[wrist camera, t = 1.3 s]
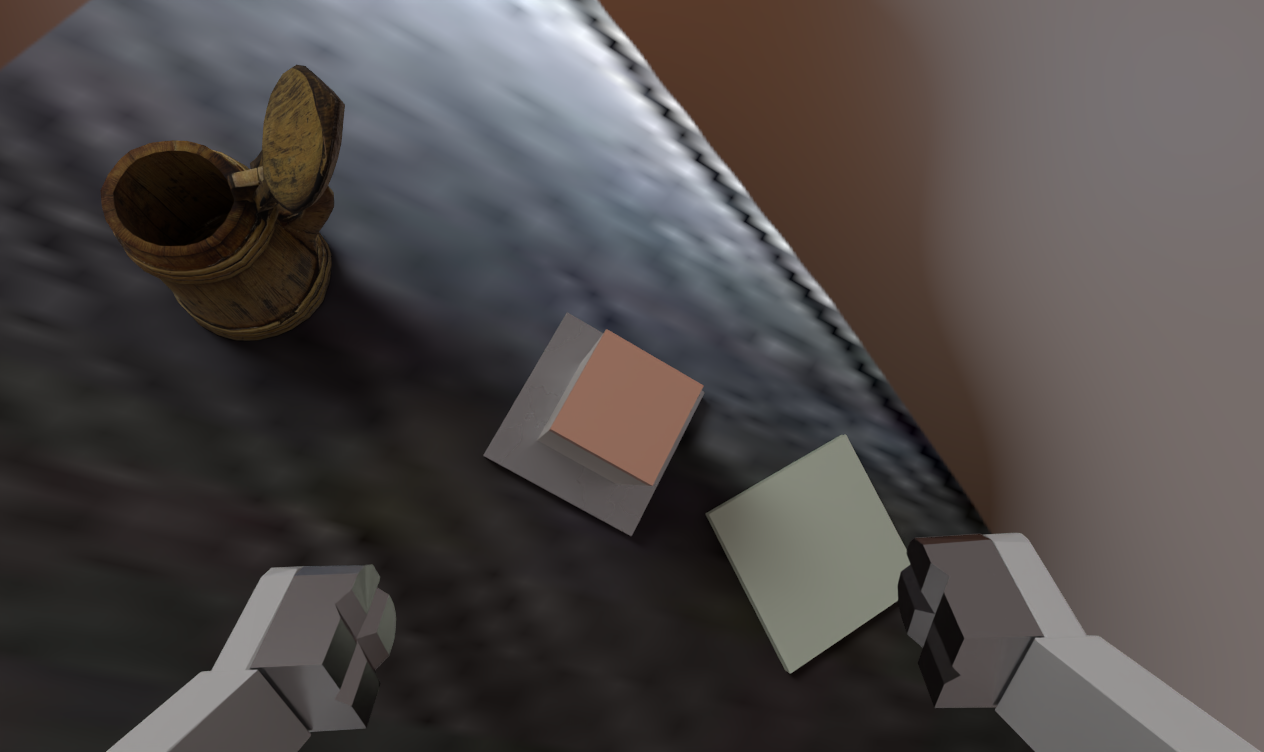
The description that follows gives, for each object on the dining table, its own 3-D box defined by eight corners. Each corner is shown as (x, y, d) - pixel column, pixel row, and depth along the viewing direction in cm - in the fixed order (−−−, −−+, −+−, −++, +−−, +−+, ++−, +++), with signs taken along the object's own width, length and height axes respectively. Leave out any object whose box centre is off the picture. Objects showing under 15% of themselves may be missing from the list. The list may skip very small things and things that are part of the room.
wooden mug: (414, 313, 43) (363, 202, 26) (188, 352, 40) (-44, 256, 23) (388, 187, 44) (322, -2, 27) (165, 216, 41) (-75, 23, 24)
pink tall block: (616, 484, 43) (652, 485, 33) (536, 440, 42) (550, 428, 33) (657, 405, 45) (703, 385, 35) (581, 362, 44) (606, 329, 34)
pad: (785, 670, 45) (790, 673, 44) (705, 513, 45) (708, 514, 45) (916, 581, 48) (923, 582, 47) (840, 435, 48) (845, 434, 48)
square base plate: (627, 534, 44) (649, 543, 38) (483, 456, 43) (482, 452, 37) (699, 394, 47) (729, 382, 41) (565, 316, 45) (576, 291, 39)
